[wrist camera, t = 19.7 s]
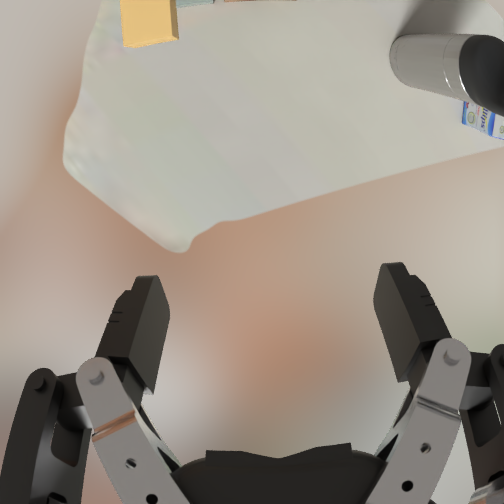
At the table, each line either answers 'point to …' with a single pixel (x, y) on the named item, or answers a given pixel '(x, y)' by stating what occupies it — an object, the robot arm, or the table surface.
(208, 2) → the slate pedestal
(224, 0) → the walnut stand
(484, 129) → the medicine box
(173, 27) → the ochre bar
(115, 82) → the table surface
